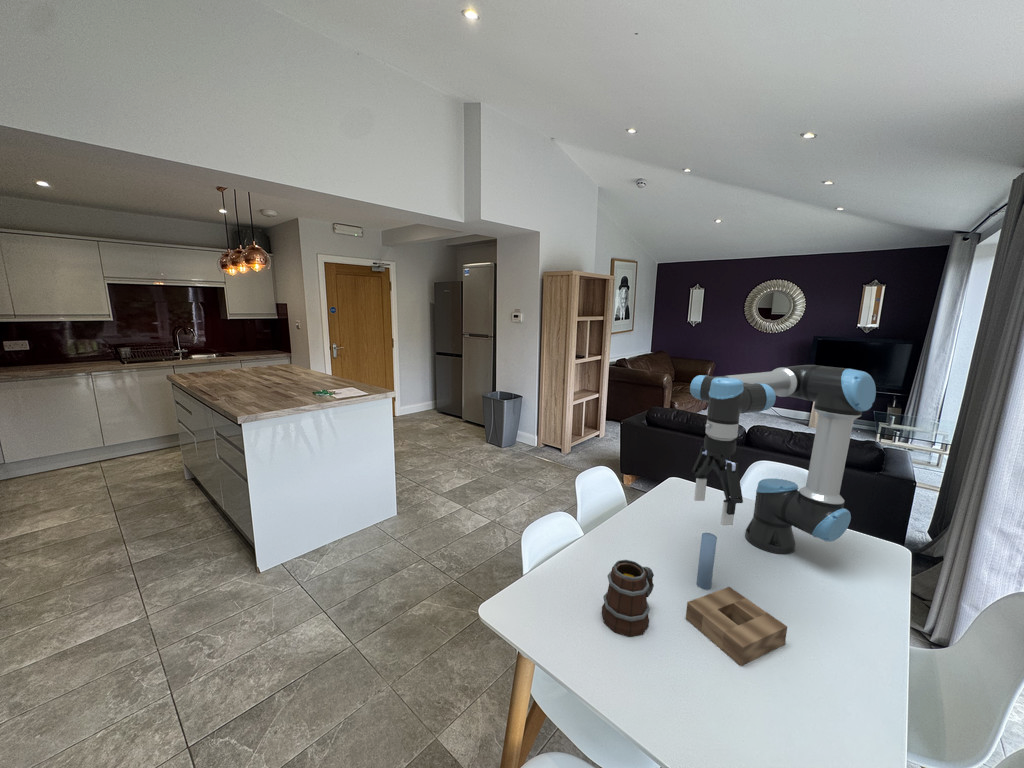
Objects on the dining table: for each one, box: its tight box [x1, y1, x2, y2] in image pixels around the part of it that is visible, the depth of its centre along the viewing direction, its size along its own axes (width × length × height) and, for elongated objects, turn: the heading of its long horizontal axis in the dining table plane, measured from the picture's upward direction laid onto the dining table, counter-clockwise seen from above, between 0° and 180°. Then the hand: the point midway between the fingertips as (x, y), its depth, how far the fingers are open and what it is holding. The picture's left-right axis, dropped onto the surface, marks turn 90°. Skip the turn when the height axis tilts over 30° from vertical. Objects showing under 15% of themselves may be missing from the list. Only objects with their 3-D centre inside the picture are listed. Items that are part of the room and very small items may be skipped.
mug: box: [601, 559, 655, 638], centre depth 107 cm, size 16×12×15 cm
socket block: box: [685, 586, 788, 667], centre depth 104 cm, size 16×16×5 cm
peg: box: [695, 532, 718, 591], centre depth 121 cm, size 4×4×16 cm
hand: (712, 511), depth 111 cm, fingers open, 13 cm apart
